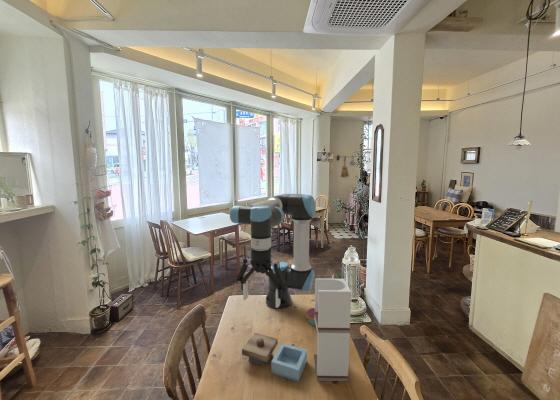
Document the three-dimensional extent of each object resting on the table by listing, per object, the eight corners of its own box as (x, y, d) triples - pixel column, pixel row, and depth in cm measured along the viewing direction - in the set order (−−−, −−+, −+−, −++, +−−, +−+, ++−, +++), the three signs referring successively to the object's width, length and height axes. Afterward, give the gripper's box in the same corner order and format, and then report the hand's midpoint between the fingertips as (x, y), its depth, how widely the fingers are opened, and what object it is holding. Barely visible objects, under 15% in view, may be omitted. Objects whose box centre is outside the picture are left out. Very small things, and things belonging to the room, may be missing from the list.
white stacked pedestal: (341, 359, 102) (344, 278, 98) (347, 381, 91) (351, 291, 87) (313, 358, 102) (315, 278, 98) (317, 380, 92) (318, 291, 88)
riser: (256, 350, 107) (256, 341, 107) (271, 354, 104) (271, 345, 104) (248, 361, 101) (248, 352, 100) (264, 366, 98) (264, 357, 98)
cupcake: (309, 316, 132) (309, 295, 131) (324, 320, 128) (325, 298, 127) (303, 325, 124) (304, 302, 123) (320, 330, 121) (320, 307, 119)
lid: (254, 337, 109) (254, 329, 109) (277, 344, 105) (277, 335, 105) (241, 354, 99) (241, 345, 99) (266, 362, 95) (266, 353, 95)
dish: (281, 353, 105) (281, 343, 104) (306, 361, 101) (307, 350, 100) (271, 373, 95) (271, 361, 94) (298, 382, 91) (298, 370, 90)
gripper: (226, 246, 92) (228, 300, 95) (289, 255, 83) (288, 314, 85) (237, 241, 99) (238, 291, 101) (296, 248, 90) (295, 304, 92)
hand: (261, 302), depth 93 cm, fingers open, 13 cm apart
